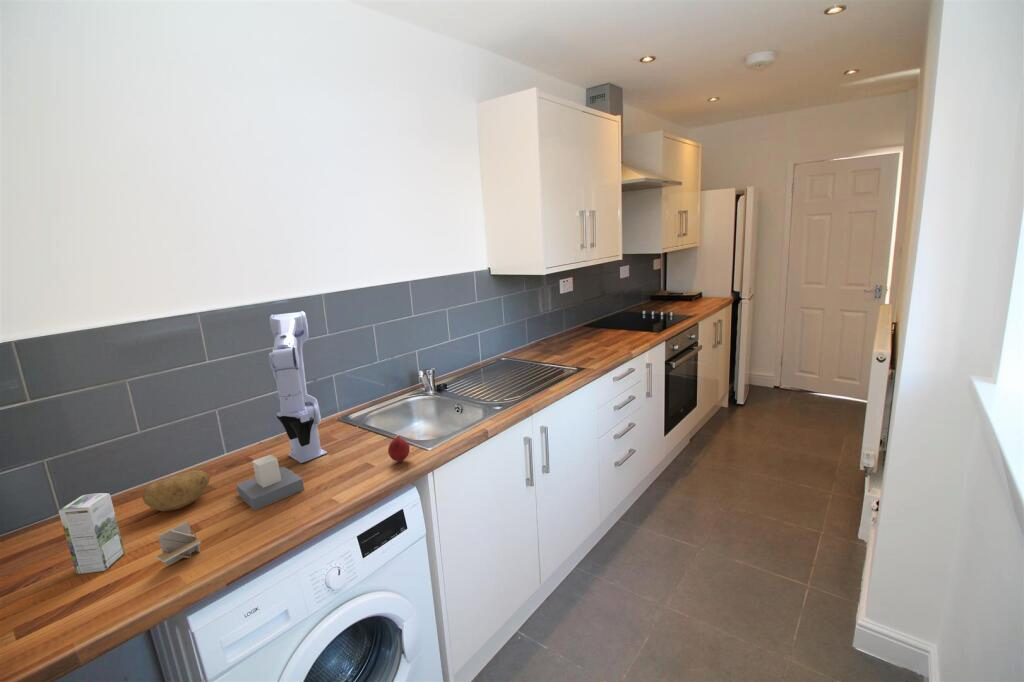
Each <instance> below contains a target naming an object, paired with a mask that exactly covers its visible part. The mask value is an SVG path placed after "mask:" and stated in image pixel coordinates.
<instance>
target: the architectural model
mask: <svg viewBox="0 0 1024 682" xmlns="http://www.w3.org/2000/svg"><path fill="white" fill-rule="evenodd" d="M190 527H191V526H190V523H189V520H187V521H185V522H183V523H181V524H179V525H177V526H174V527H172V528H171V529H169V530H166V531H165V532H163V533H161V534H159V535H157V537H158V541H159V544H160V549H161V552H162V553H160V554H157V555H156V556H155V557H156V559H158V560H159V561H160V562H163V563H165V567H166V568H167V567H169V566H171V565H173V564H175V563H176V562H179V561H180V560H181V559H184V558H187V559H191V558H192V552H193V553H194V552H197V553H199V552H200V553H202V552H201V548H200V544H201V540H199V539H198V537H197V534H196V532H194V533H193V534H192V530H191V528H190Z"/></svg>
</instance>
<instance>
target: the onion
mask: <svg viewBox="0 0 1024 682" xmlns="http://www.w3.org/2000/svg"><path fill="white" fill-rule="evenodd" d="M387 451H388V452H387V453H388V456H389V457H390V458H391V460H393V461H394V462H397V463H403V461H404V460H405V459H406V458H407V457H408V456H409V455H410V445H409V443H408V442H407V441H406V440H405V439H403V438H401V436H400V435H399V434H397V435H395V438H394V439H393V440H392V441H391V442H389V445H388V448H387Z"/></svg>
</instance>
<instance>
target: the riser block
mask: <svg viewBox="0 0 1024 682" xmlns="http://www.w3.org/2000/svg"><path fill="white" fill-rule="evenodd" d="M279 470H280V475H281V480H282V481H279V482H277V483H274V484H272V485H269V486H267V487H264V488H263V487H262V486H260V485H259V484H258V483H257V481H256V476H255V477H252V478H250V479H246V480H244V481H241V482H239V483H237V484H236V485H235V486H236V490H237V493H238V494H237V495H238V496H239V497H240V498H241V499H242V500H243V501H244V502H246V504H247V505H248V506H249V507H250V508H252V509H253V510H254V511H257V510H260V509H262V508H264V507H267V506H268V505H271V504H274V503H276V502H278V501H281V500H283V499H285V498H287V497H290V496H292V495H295V494H297V493H299V492H302V491H304V490H305V486H304V481H303V478H302V477H300V476H299V475H298V474H296V473H294V472H293V471H292V470H290V469H288V468H287V467H286V466H285V465H284V466H281V467H279Z"/></svg>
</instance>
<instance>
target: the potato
mask: <svg viewBox="0 0 1024 682" xmlns="http://www.w3.org/2000/svg"><path fill="white" fill-rule="evenodd" d="M210 480H211V477H210V475H209V473H207V472H206V471H203V470H191V471H188V472H185V473H181V474H177V475H173V476H169V477H167V478H164V479H162V480H158V481H156V482H155V481H154V482H153V483H151V484H149V485H147V486H146V488H145V489H144V491H143V492H142V500H143V503H144V504H145V505H146V506H148V507H149V508H150V509H153V510H156V511H161V512H168V511H174V510H175V511H176V510H179V509H182V508H185V507H187V506H188V505H190V504H192V503H193V502H194V501H195V500H197V499H198V498H199V497H200V496H201V495H202V494H203V493H204V492H205V491H206V489H207V487H208V486H209V483H210Z"/></svg>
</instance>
